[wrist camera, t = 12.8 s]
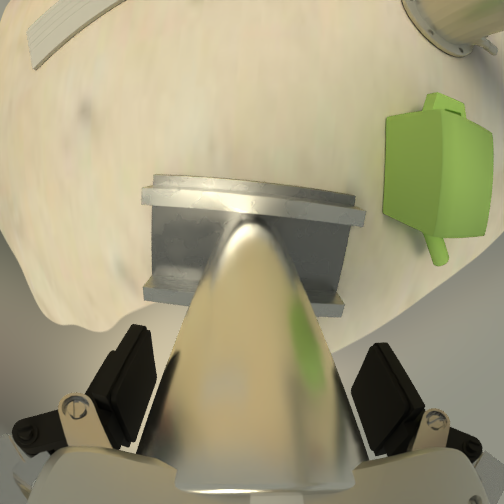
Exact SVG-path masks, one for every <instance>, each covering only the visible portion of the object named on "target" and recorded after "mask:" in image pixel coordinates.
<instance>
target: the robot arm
mask: <svg viewBox="0 0 504 504" xmlns="http://www.w3.org/2000/svg"><path fill="white" fill-rule="evenodd" d="M402 2H403V5H404V8H405V10H406V12H407V14H408V15H409V17H410V19H411V20H412V22H413V23H414V24H415V25H416V27H417V28H418V29H419V30H420V31H421V33H422V34H423V35H424V36H425V37H426V38H427V39H428V40H429V41H430V42H432V43H433V44H434V45H435V46H437V47H438V48H439V49H441V50H442V51H444V52H446V53H448V54H450V55H453V56H456V57H462V56H466V55H468V54H470V53H471V51H472V49H473V45H477V46H479V47H480V46H482V47H483V48H484V49H485V50H486V51H488V52H489V53H490V54H491V55H496V54H497V52H498V50H497V47H496V46H495V45H494V44H492V43H491V42H490V41H489V40H487V39H486V38H485V37H488V35H491V34H495V33H498V32H501V31H504V0H402ZM156 380H157V374H156V368H155V361H154V355H153V347H152V339H151V332H150V330H147V328H146V326H142V325H136V324H132V325H131V327H130V328H129V330H128V331H127V333H126V334H125V336H124V338H123V339H122V341H121V343H120V344H119V346H118V348H117V349H116V351H114V350H113V351H111V352H110V353H109V354H108V356H107V357H106V359H105V361H104V362H103V364H102V366H101V367H100V369H99V371H98V372H97V374H96V376H95V377H94V379H93V381H92V382H91V384H90V386H89V388H88V389H87V391H86V393H85V394H82V393H77V392H76V393H70V394H67V395H66V396H64V397H63V398H62V399H61V400H60V402H59V405H58V410H54V411H51V412H48V413H44V414H40V415H37V416H33V417H29V418H25V419H22V420H19V421H18V422H17V423H15V425H14V427H13V430H12V434H11V435H8V434H5V435H3V436H1V437H0V504H250V498H251V496H204V495H196V494H191V493H187V492H183V491H181V490H179V489H178V488H176V487H175V484H174V482H175V477H176V472H177V470H176V469H175V468H173V467H171V466H170V465H168V464H166V463H164V462H162V461H160V460H158V459H156V458H151V457H147V456H142V455H138V454H134V453H129V452H125V451H121V450H119V449H120V447H121V445H122V446H125V447H130V444H131V442H135V441H136V438H137V435H138V432H139V429H140V426H141V423H142V420H143V418H144V415H145V412H146V409H147V406H148V403H149V400H150V397H151V395H152V392H153V389H154V386H155V384H156ZM351 394H352V397H353V400H354V403H355V406H356V409H357V412H358V414H359V417H360V420H361V423H362V426H363V428H364V432H365V434H366V437H367V440H368V444H369V446H370V449H371V450H372V451H374V453H375V456H379V455H383V454H386V453H387V456H388V457H385V458H380V459H375V460H371V461H365V462H362V463H360V464H359V465H358V466H357V467H356V468H355V469H354V470H352V472H353V476H354V479H355V484H354V486H353V487H351V488H350V489H348V490H346V491H342V492H338V493H333V494H320V495H317V494H316V495H303V501H304V504H497V502H498V500H499V498H500V496H501V495H502V493H503V491H504V464H502V463H501V462H500V461H499V460H497V459H496V458H494V457H493V456H492V455H491V454H489V453H488V452H487V451H484V452H482V445H481V443H480V441H479V440H478V439H477V438H475V437H473V436H471V435H469V434H466V433H464V432H461V431H459V430H456V429H454V428H451V427H450V420H449V417H448V416H447V414H446V413H445V412H444V411H442V410H440V409H436V408H431V409H428V410H427V411H425V409H424V407H425V404H424V403H423V401H422V399H421V397H420V395H419V394H418V392H417V390H416V389H415V387H414V385H413V384H412V382H411V380H410V378H409V377H408V375H407V373H406V372H405V370H404V368H403V367H402V365H401V363H400V362H399V360H398V359H397V357H396V355H395V354H394V352H393V351H392V349H391V348H390V346H389V344H388V343H375V344H374V345H373V346H371V347H370V348H369V351H368V353H367V355H366V357H365V360H364V362H363V364H362V367H361V369H360V371H359V374H358V375H357V377H356V379H355V382H354V384H353V386H352V388H351ZM35 480H36V481H35ZM34 481H35V484H34V486H33V488H32V483H33V482H34Z"/></svg>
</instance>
